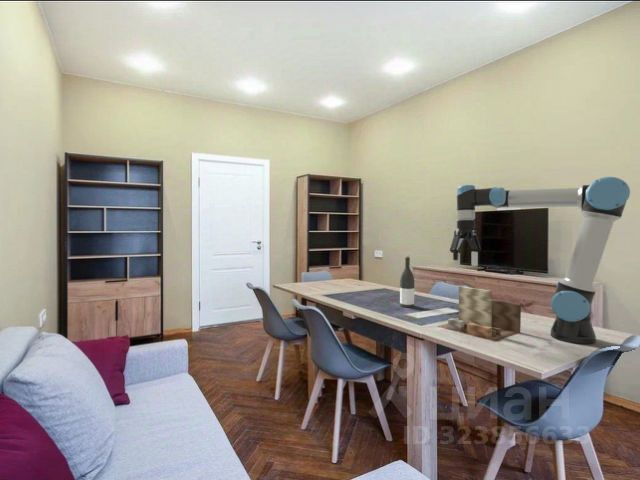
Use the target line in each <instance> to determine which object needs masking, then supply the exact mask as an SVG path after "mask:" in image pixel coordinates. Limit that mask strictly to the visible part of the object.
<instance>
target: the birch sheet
mask: <svg viewBox="0 0 640 480" xmlns="http://www.w3.org/2000/svg"><path fill="white" fill-rule="evenodd" d="M492 299H493V290H489V289H483V288H474V287H470V286H468V287H467V286H461V285H460V286H458V311H459V313H458V319H459V320H462V321H464V323H466V324H468V323H475V324H479V325H483V326H488V327H491V324H492Z"/></svg>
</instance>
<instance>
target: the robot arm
mask: <svg viewBox="0 0 640 480" xmlns="http://www.w3.org/2000/svg"><path fill="white" fill-rule="evenodd" d="M456 189H457V190H456V219H457V221H456V228H457V229H459V230H454V232H453V238H452V241H451V245H450V248H449V252H450V253H452V255H453V256H452V260H453V268H457V269H460V268H461V253H460V251H461V249H462V246H463V244H464V242H466V241H467V243H468V244H469V246H470V249H471V255H470V257H471V262H470V263H471V266H472V267H478V266H479V253H480V252H481V250H482V247H481V244H480V240H479V236H478V231H477V230H476V229H475V228H476V221H475V219H476V207H486V206H487V207H488V206H489V207H493V208H496V209H497V208H498V209H499V208H500V209H501V208H522V207H523V208H525V207H526V208H531V207H532V208H535V207H537V208H540V207H541V208H548V207H552V208H554V207H557V208H558V207H560V208H561V207H564V208H565V207H569V208H570V207H571V208H572V207H573V208H574V207H577V208H579V209H580V212H581V214H582V215H583V216H584V217H583V221H582V224H581V227H580V229H579V232H578V235H577V239H576V241H575V245H574V248H573V252H572V255H571V258H570V260H569V263H568V267H567V270H566V273H565V277H563V278H561V279H559V280H558V282H557V283H556V287H555V291H554V295H552V298H551V300H550V307H551V310H552V312H553V313H554V314H555V319H554V321H553V324H552V326H551V329H550V336H551V337H552V338H554V339H557V340H559V341H562V342H569V343H573V344H582V345H583V344H584V345H590V344H596V342H597V336H596V333H595V330H594V327H593V325H592V320H591V319H592V303H593V300H594V297H595V295H596V291H597V289H595V287H594V285H593V284H594V281H595V278H596V274H597V272H598V270H599V267H600V263H601V261H602V258H603V254H604V252H605V250H606V249H605V248H606V246H607V242H608V240H609V237H610V233H611V231H612V229H613V225H614V222H616V221H618V220H620V219H622V216H623V213H624V210H625V207H626V204H627V201H628V200H629V198H630V194H631V189H630V186H629V185H628V183H627V182H626V181H625V180H623V179H621V178H619V177H615V176H604V177H600V178H598V179H595V180H594V181H592V182H591V183H590V184H582V185H581V186H580V187H568V188H565V187H564V188H545V189H544V188H542V189H541V188H540V189H515V190H514V189H512V190H509V189H508V190H507V189H505V188H504V187H500V186H499V187H489V188H476V186H475V185H473V184H463V185H459V186H458V187H457V188H456ZM473 229H475V230H473Z"/></svg>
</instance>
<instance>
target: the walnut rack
mask: <svg viewBox="0 0 640 480" xmlns="http://www.w3.org/2000/svg"><path fill="white" fill-rule="evenodd" d="M521 312H522V304H521V303H518V302H517V303H515V302H510V301H503V300H498V299H493V298H492V324H491V327H492V338H489V339H487V338H483V337H480V336H476V335H472V334H468V333H467V324H466V323H464V331H457V330H453V329H449V328H448V323H445V324H442V325H437V328H442V329H445V330H449V331H453V332H456V333H460V334H464V335H467V336H472V337H476V338H479V339H482V340H486V341H491V342H494V343H496V342H499V341H501V340H504V339H507V338H510V337H513V336H515V335H518V334H520V333H521V326H522V325H521V317H522V316H521V315H522V313H521ZM457 319H458V320H459V318H457Z"/></svg>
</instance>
